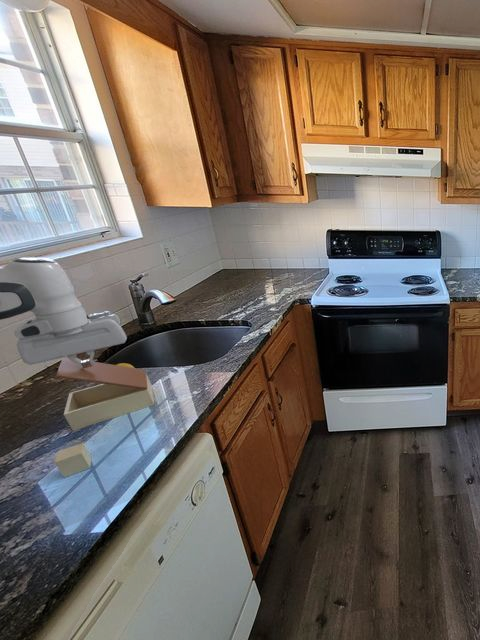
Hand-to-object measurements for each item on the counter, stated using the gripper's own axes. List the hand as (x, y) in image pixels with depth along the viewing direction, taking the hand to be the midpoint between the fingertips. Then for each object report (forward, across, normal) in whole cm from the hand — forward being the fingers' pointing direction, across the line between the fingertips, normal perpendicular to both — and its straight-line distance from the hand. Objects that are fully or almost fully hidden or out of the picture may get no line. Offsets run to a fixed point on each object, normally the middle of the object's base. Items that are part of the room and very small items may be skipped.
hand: (88, 366), depth 100 cm
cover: (+3, -2, 0) cm, 4 cm away
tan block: (+14, +5, +26) cm, 30 cm away
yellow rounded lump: (+14, -2, -22) cm, 26 cm away
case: (+14, -1, 0) cm, 14 cm away
